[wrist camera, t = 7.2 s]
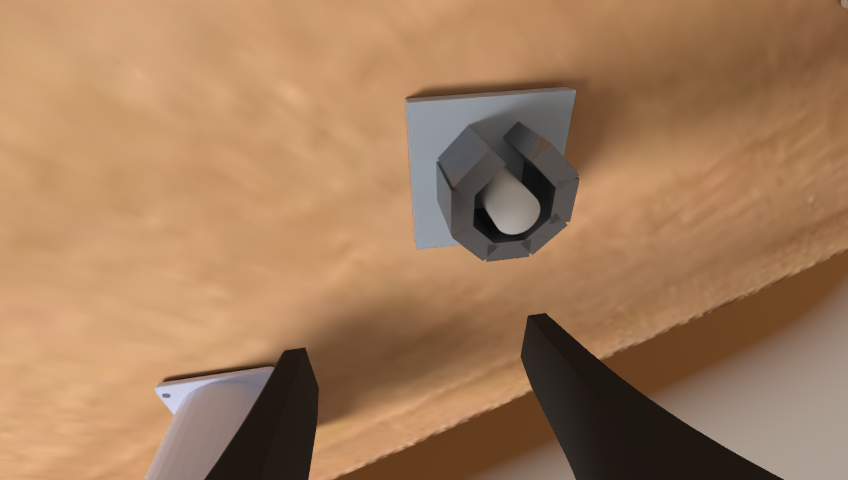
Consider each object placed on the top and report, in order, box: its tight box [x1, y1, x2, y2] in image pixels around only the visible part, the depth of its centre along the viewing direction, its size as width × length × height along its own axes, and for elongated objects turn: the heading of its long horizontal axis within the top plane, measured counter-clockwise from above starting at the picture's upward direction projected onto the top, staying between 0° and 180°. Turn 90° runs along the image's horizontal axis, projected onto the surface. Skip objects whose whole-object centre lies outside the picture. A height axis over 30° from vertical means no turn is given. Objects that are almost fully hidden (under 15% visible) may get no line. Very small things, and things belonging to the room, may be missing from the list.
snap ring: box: [436, 121, 580, 262], centre depth 16 cm, size 6×6×4 cm
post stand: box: [405, 87, 576, 250], centre depth 17 cm, size 8×8×5 cm
